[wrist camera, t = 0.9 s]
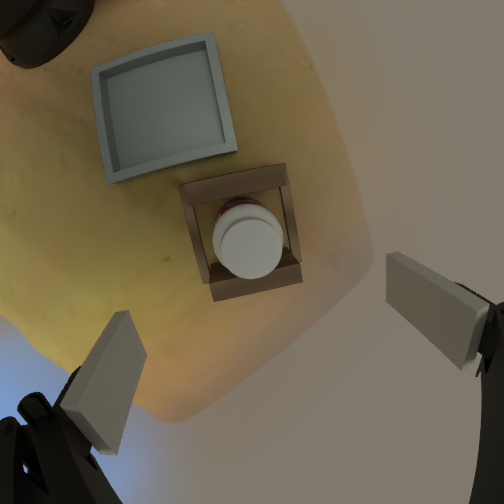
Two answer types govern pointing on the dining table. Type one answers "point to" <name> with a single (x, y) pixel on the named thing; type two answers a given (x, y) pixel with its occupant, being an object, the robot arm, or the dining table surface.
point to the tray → (161, 108)
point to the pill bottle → (247, 238)
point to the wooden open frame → (233, 185)
